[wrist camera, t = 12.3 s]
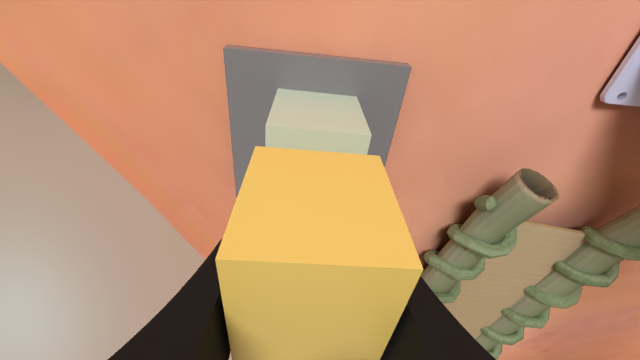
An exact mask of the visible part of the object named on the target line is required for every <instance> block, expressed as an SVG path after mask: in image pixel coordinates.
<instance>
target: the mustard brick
mask: <svg viewBox="0 0 640 360" xmlns="http://www.w3.org/2000/svg"><path fill="white" fill-rule="evenodd" d="M215 261H216V267H217V273H218V279H219V285H220V291H221V297H222V303H223V308H224V314H225V320H226V326H227V332H228V338H229V344H230V350H231V356H232V360H380V358H381V356H382V354H383V352H384V350H385V348H386V346H387V344H388V342H389V340H390V338H391V336H392V334H393V331H394V329H395V327H396V325H397V323H398V321H399V319H400V317H401V315H402V313H403V311H404V309H405V307H406V305H407V303H408V300H409V298H410V296H411V294H412V292H413V290H414V288H415V286H416V284H417V282H418V280H419V278H420V276H421V274H422V271H423V267H422V264H421V261H420V259H419V256H418V254H417V251H416V249H415V246H414V243H413V241H412V238H411V236H410V233H409V230H408V228H407V225H406V223H405V220H404V217H403V215H402V212H401V210H400V207H399V205H398V202H397V199H396V197H395V194H394V192H393V189H392V186H391V184H390V181H389V179H388V176H387V173H386V171H385V168H384V166H383V163H382V161H381V158H380V156H376V155H363V154H351V153H338V152H325V151H312V150H299V149H287V148H274V147H261V146H255V148H254V151H253V154H252V157H251V160H250V163H249V165H248V168H247V171H246V174H245V177H244V179H243V182H242V185H241V188H240V191H239V193H238V196H237V199H236V202H235V205H234V208H233V210H232V213H231V216H230V219H229V222H228V224H227V227H226V230H225V233H224V236H223V238H222V241H221V244H220V247H219V250H218V253H217V255H216V258H215Z"/></svg>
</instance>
